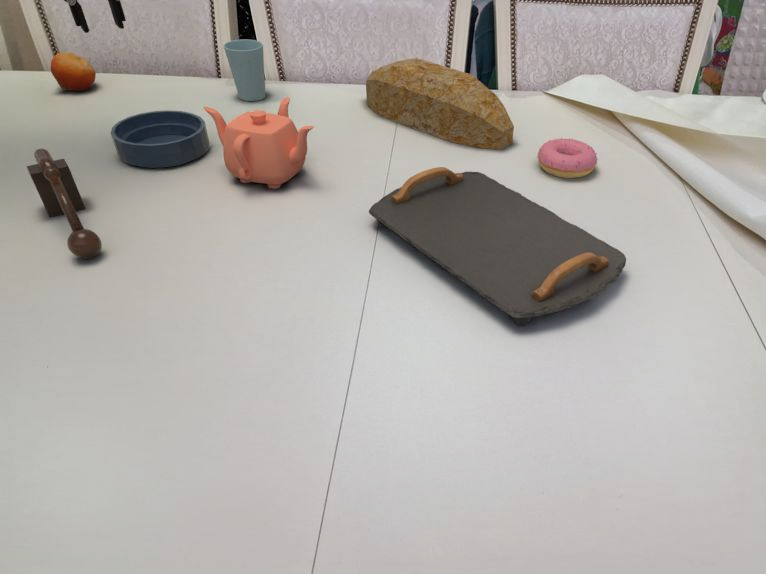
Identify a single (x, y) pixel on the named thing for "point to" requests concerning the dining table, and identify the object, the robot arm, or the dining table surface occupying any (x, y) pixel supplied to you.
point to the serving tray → (499, 242)
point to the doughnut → (567, 158)
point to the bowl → (160, 138)
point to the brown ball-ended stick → (68, 210)
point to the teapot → (262, 145)
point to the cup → (247, 68)
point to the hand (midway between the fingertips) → (102, 27)
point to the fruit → (72, 72)
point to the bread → (440, 103)
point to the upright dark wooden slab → (48, 192)
